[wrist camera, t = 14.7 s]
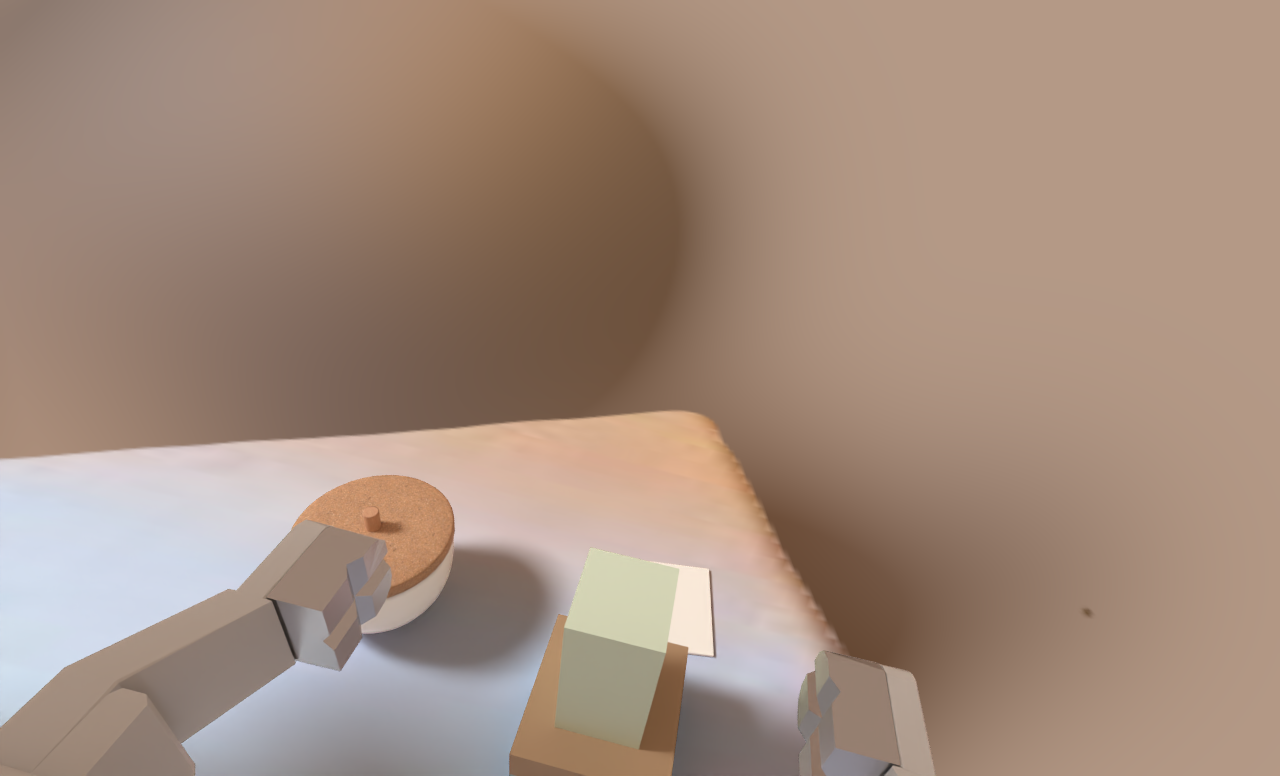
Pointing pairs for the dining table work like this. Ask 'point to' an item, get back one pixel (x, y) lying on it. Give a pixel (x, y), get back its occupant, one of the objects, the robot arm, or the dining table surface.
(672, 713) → the brown and teal box
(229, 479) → the dining table surface
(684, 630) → the page
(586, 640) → the sage brick
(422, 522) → the lidded jar
